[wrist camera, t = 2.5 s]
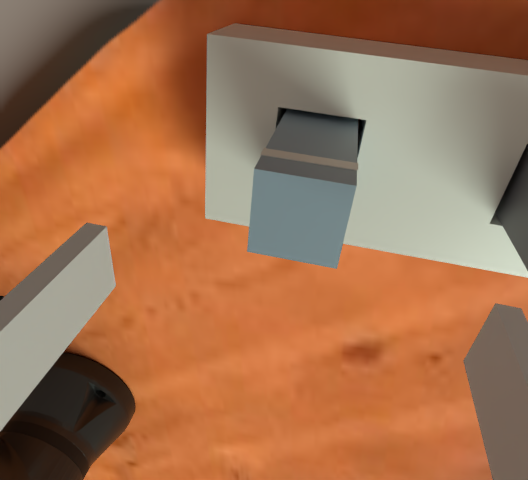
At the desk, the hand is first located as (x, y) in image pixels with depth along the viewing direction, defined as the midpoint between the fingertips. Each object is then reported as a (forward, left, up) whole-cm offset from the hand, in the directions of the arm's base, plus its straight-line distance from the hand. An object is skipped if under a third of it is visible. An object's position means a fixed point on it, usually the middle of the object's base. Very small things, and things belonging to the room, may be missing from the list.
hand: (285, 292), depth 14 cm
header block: (+7, 0, -19) cm, 21 cm away
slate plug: (0, 0, -19) cm, 19 cm away
